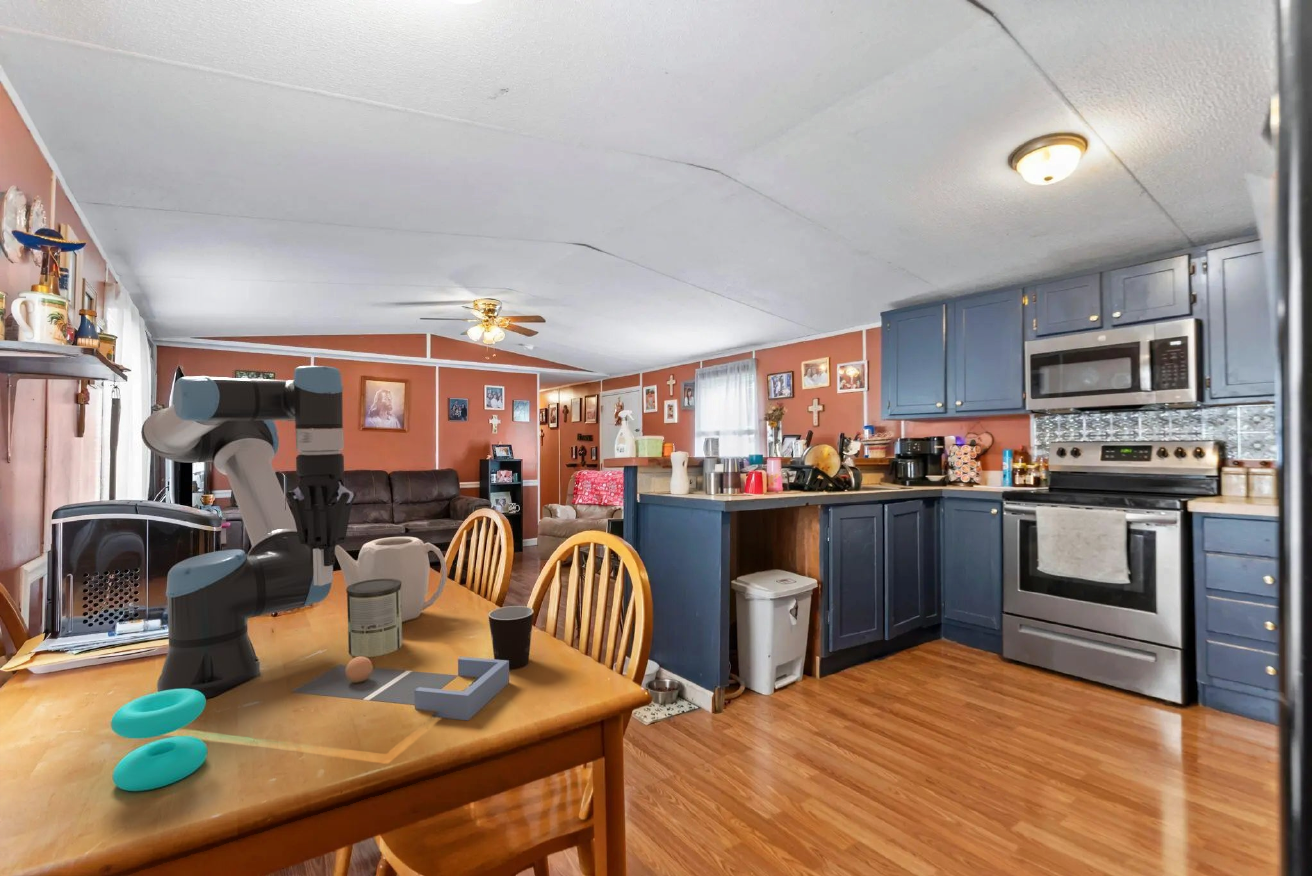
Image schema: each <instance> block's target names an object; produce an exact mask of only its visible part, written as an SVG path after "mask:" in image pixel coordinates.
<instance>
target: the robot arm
mask: <svg viewBox="0 0 1312 876" xmlns="http://www.w3.org/2000/svg"><path fill="white" fill-rule="evenodd" d="M343 391H344V386H343V381H342V373H341V370H340V369H338V368H337V367H332V366H324V365H302V366H297V367H295V368H294V373H293V379H292V380H291V379H289V380H288V379H265V378H239V377H237V378H235V377H233V378H232V377H217V376H207V375H199V376H182V377H179V378H178V379H177V380H176V381H175V384H174V387H173V391H172V392H173V393H172V397H173V398H172V399H173V400H172V401H173V402H172V403H173V404H171V406H169V407H165V408H162V409H159V410H156V411H154V412H153V413H152V414H151V415H149V416H148V417H147V418H146V420H144V421H143V424H142V426H141V439H142V441H143V443H144V445H145V447H147V449H149V451H151V452H152V453H154V454H156V455H157V456H159V457H161V458H164V459H167V460H169V461H173V462H179V463H192V464H193V463H213V465H214V467H215V469H216V470H217V471H218V473H220V474H222V475H225V476H226V477H227V479H228V484H229V485H230V488H231V491H232V493H233V496H234V499H235V502H236V504H237V507H238V510H239V513H240V515H241V519H242V522H243V524H244V526H245V530H246V533H247V535H248V539H249V541H250V544H251V546H252V547H250V549H249V551H248V553H247V554H246V552H245V550H243V549H239V548H237V549H235V548H232V549H225V550H216V551H212V552H207V553H203V554H199V555H195V556H192V557H189V558H186V559H184V560H182V561H180V562H177V563H176V564H175V565H173V566H172V567H171V568H170V570H169V571H168V573H167V581H166V590H165V591H166V592H165V596H166V597H167V598H166V599H167V628H168V629H167V630H168V632H167V633H168V649H167V654H166V657H165V659H164V663H163V666H162V670H161V674H160V676H159V678H158V679H157V684H156V685H157V686H156V687H157V688H156V689H157V690H156V692H160V691H165V690H171V689H194V690H197V691H199V692H201V693H202V694H203V695H204V696H205V699H209V698H213V697H216V696H217V697H218V696H222V694H224V693H227V692H229V691H231V690H233V689H235V688H238V687H240V686H241V685H243V684H246V683H248V682H250V681H252V680H254V679H256V678H258V677H259V676H260V675H261V664H260V663H261V662H260V660H259V659H260V658H259V657H258V656H257V654H256V650H255V648H254V645H253V643H252V641H251V639H250V636H249V632H248V620H249V619H251V618H255V617H260V616H267V615H270V614H273V613H279V612H284V611H287V610H289V611H290V610H293V609H297V608H298V609H299V608H305V607H308V606H310V605H314V604H317V603H321V602H322V601H324V600H325V599H326V598H327V597H328V595H329V593H330V591H331V589H332V583H333V581H334V579H333V578H334V565H335V563H336V555H335V547H336V545H341V544H344V543H345V542H346V539H347V538H346V537H347V532H348V528H349V523H350V522H349V521H350V516H351V515H350V514H351V510H352V505H353V503H354V501H355V499H356V497H357V492H356V491H355V490H351V491H350V490H348V489H347V488H346V487H345V482H344V480H343V478H342V477H343V474H344V472H345V455H343V453H341V451H344V448H345V447H344V446H345V445H344V441H345V440H344V426H343V424H344V423H343V422H344V421H343V415H344V413H343V411H344V409H343ZM275 421H287V422H292V421H293V422H295V426H294V429H295V447H296V448H295V451H297V452H299V454H297V456H296V458H295V462H296V463H295V464H296V465H295V466H296V474H297V476H299V480H298V483H297V487H296V488H295V489H293V490H291V491H287V492H286V495H285V494H284V492H283V489H282V486H281V484H280V481H279V479H278V477H277V475H276V471H275V469H274V467H273V465H272V461H273V460H274V459H275V458H274V457H275V456H276V455H277V453H278V451H279V445H280V442H279V441H280V439H279V435H278V428H277V426H276V423H275ZM285 498H287V500H288V501H289V503H290V505H291V508H290V506H289V503H288V502H287V500H286V510H285ZM291 510H292V511H291Z"/></svg>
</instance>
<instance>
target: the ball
mask: <svg viewBox="0 0 1312 876" xmlns="http://www.w3.org/2000/svg"><path fill="white" fill-rule="evenodd" d="M346 665H347V666H346V670H345V674H346V677H347V678H348V679H349V680H350V681H351V682H354V683H360V682H363V681H365V680H366V679H367V678H369V676H370V675H371V673H372V669H373V668H374V667H373V663H372V661H371V660H370V659H369V657H362V656H361V657H354V658H352V659H350V661H349V662H347V664H346Z"/></svg>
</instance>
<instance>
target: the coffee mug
mask: <svg viewBox="0 0 1312 876" xmlns="http://www.w3.org/2000/svg"><path fill="white" fill-rule="evenodd" d="M534 612H535V611H534V609H533V608H531V607H530V606H525V605H523V606H522V605H511V606H504V607H503V606H502V607H498V608H496V609H493V610H491V611H489V612H488V614H487V615H488V621H489V630H490V635H491V636H490V637H491V644H492V651H493V653H492V654H493V659H495V660H507V661H509V671H513V670H518V669H522V668H524V667H526V666H527V665H528V664H529V661H530V651H531V641H532V640H531V639H532V631H533V623H534V622H533V619H534Z"/></svg>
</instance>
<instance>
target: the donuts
mask: <svg viewBox="0 0 1312 876" xmlns="http://www.w3.org/2000/svg"><path fill="white" fill-rule="evenodd" d="M206 699H207V698H205V696H204V695H203V694H202V693H201V692H199V691H197V690H194V689H171V690H165V691H160V692H157V691H156V692H152V693H149V694H146V695H143V696H139V697H137V698H135V699H133V700H131V701H129V702H127V703H125V704H123V705H122V706H121V707H120V708H119V709H118V710H116V711H115V713H114V714H113V716H112V718H111V720H110V726H111V730H112V731H113V732H114V733H115V734H116V735H118V737H123V738H125V739H135V740H136V739H137V740H138V739H139V740H140V739H141V740H142V739H149V738H156V737H159V736H163V735H167V734H170V733H173V732H175V731H176V732H177V730H180V729H182V728H184V727H187V726H188V725H190V724H191V723H192V722H193V721H195V720H196V719H197V718H198V717H200V715H201V714H202V713H203V711H204V710H205V707H206V705H207V700H206ZM207 747H208V746H207V745H206V743H205V742H204V741H203V740H201V738H197V737H194V736H189V735H176V736H169V737H168V736H167V737H165V738H161V739H157V740H156V739H155V740H154V741H150V742H148V743H146V744H143V745H142V746H140V747H137V748H136V749H134V750H132V751H131V752H129V753H128V754H126V755H125V756H124V757H123V758H122V759H121V760H120V761H119V762H118V763H117V764H116V766H115V768H114V770H113V773H112V781H113V783H114V785H115V786H116V787H117V788H119V789H121V790H124V791H127V792H128V791H129V792H140V791H141V792H142V791H143V792H144V791H149V790H154V789H159V788H163V787H165V786H168V785H170V784H174V783H176V782H179V781H180V780H182V779H184V778H186V777H188V776H190V775H191V774H193V773H194V772H195V771H197V770H198V769H199V768H200V767H201V766H202V765H203V764H204V762H205V761H206V759H207V755H208V748H207Z"/></svg>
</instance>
